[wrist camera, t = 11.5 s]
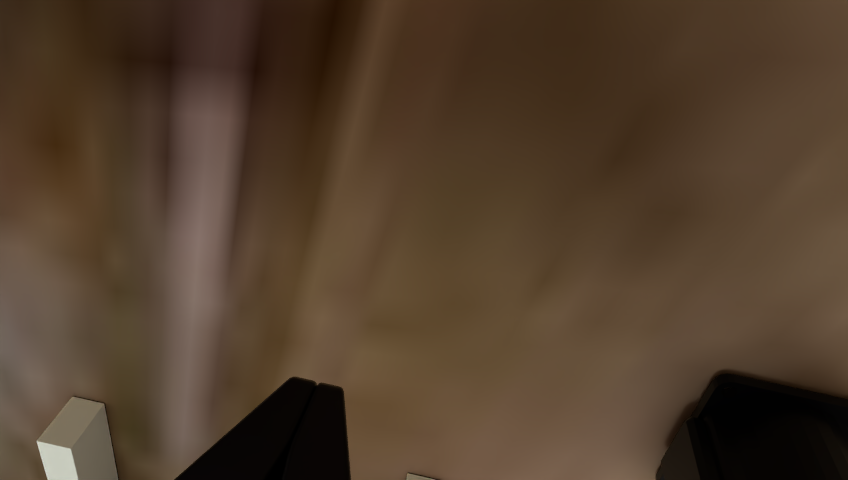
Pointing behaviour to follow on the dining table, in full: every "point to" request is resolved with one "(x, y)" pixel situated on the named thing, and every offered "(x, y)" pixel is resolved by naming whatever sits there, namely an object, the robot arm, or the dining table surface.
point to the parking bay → (85, 444)
